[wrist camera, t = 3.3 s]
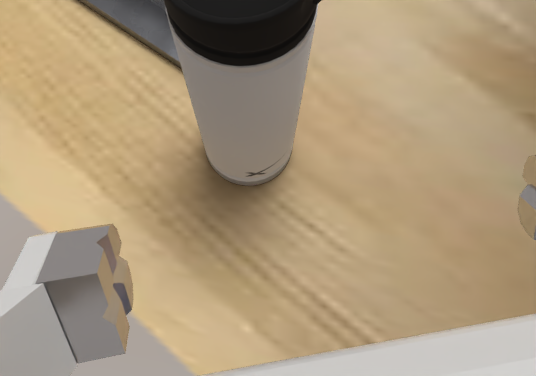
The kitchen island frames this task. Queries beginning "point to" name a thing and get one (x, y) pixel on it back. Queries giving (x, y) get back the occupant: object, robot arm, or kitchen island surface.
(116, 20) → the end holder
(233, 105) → the travel mug
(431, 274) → the kitchen island surface
